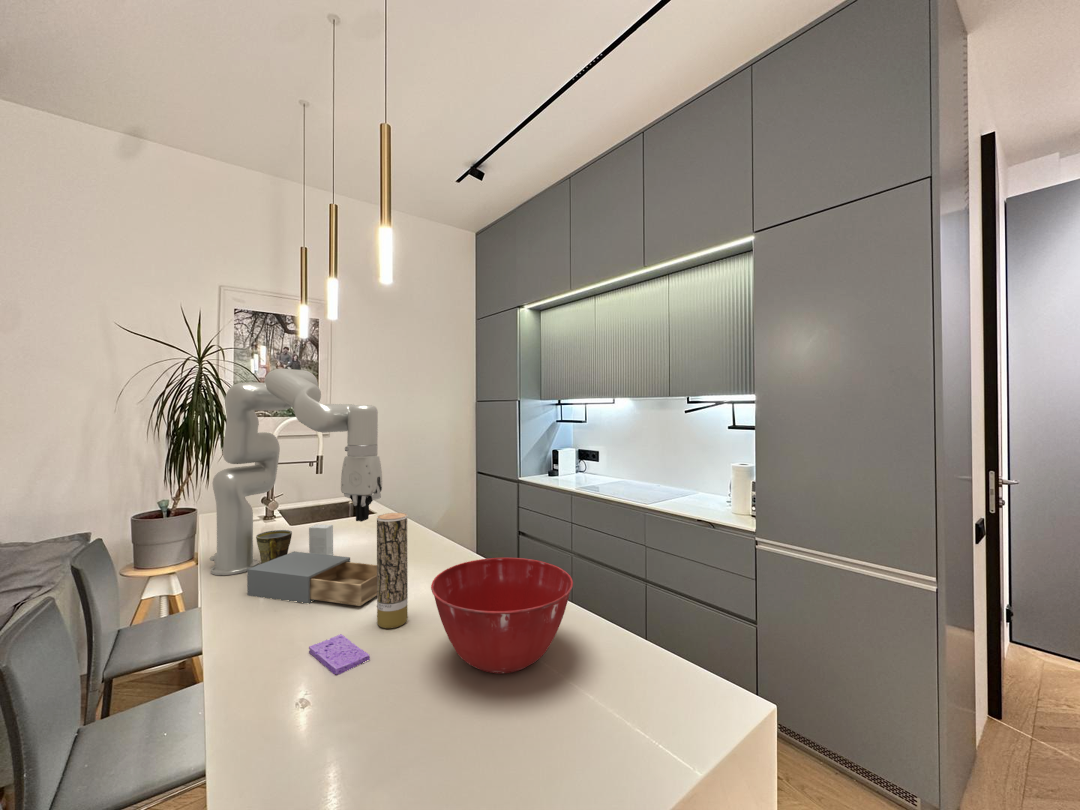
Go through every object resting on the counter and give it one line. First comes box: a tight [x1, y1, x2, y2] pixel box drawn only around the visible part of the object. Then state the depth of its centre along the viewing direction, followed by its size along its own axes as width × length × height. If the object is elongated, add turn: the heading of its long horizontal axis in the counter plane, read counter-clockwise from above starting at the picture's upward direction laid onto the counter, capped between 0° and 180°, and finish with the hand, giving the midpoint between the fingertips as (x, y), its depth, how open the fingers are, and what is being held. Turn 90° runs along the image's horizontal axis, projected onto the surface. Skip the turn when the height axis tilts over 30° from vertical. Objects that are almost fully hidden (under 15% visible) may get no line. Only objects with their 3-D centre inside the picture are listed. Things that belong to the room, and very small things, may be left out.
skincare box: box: [308, 524, 334, 556], centre depth 151 cm, size 6×4×12 cm
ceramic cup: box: [255, 529, 293, 564], centre depth 148 cm, size 13×10×10 cm
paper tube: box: [376, 512, 409, 629], centre depth 109 cm, size 7×7×25 cm
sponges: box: [308, 633, 371, 676], centre depth 95 cm, size 7×13×2 cm, turn 48°
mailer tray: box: [310, 561, 377, 607], centre depth 126 cm, size 19×14×5 cm
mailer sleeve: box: [246, 551, 351, 604], centre depth 130 cm, size 20×16×7 cm
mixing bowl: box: [430, 557, 574, 675], centre depth 95 cm, size 28×28×16 cm
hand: (362, 520), depth 125 cm, fingers closed
